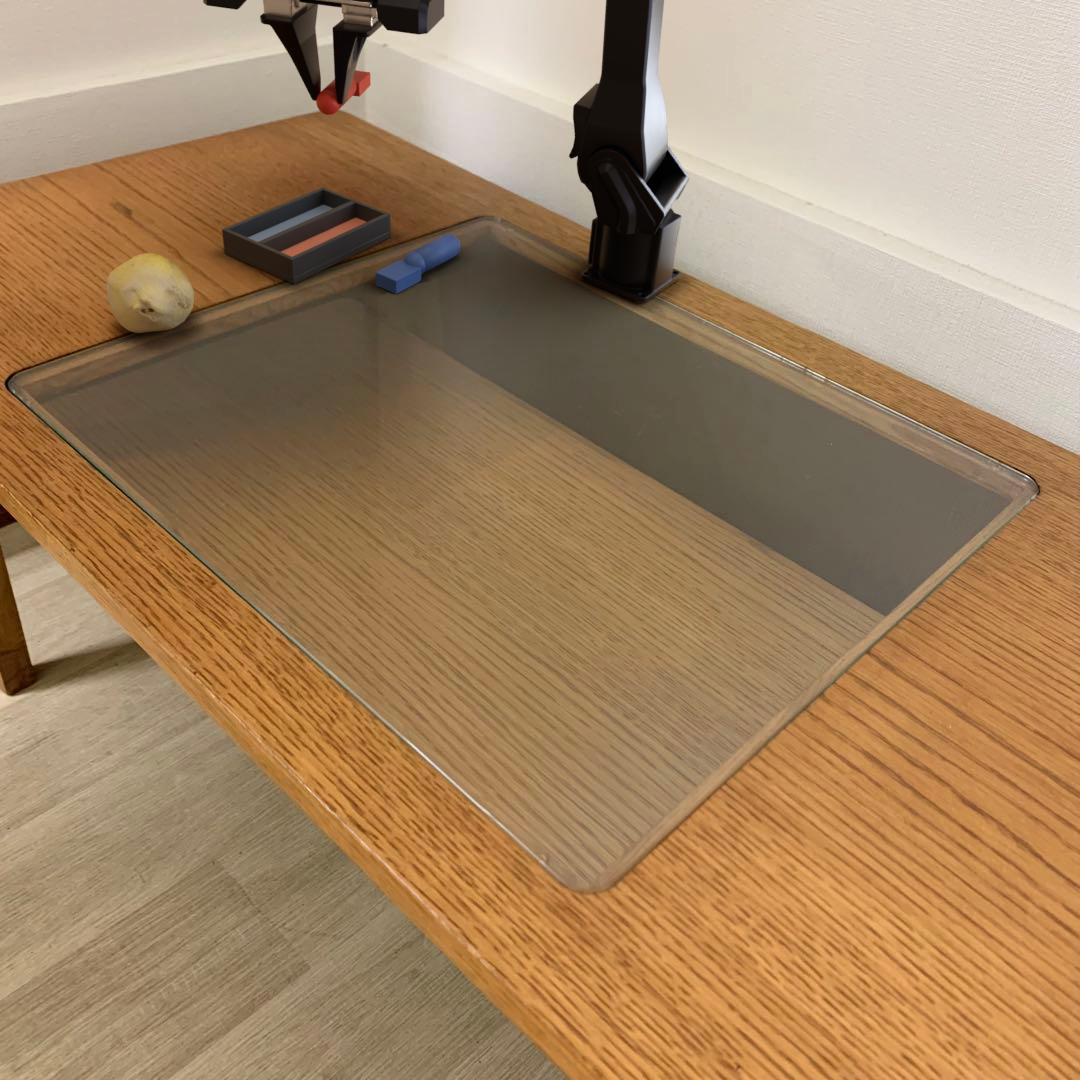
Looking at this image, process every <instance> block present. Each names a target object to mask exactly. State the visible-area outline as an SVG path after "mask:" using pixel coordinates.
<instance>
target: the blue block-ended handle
mask: <svg viewBox="0 0 1080 1080" xmlns="http://www.w3.org/2000/svg"><path fill="white" fill-rule="evenodd" d="M460 250H461V242H460V240H459V238H458V237H457V236H456V235H454V234H452V233H445V234H443V235H441V236H439V237H437V238H435V239H433V240H431V241H429V242H427V243H425V244H423V245H421V246H419V247H417V248H415V249H413V250H411V251H409V252H408V253H407V254H405V257H404V258H403V259H399V260H396V261H394V262H393V263H391V264H389V265H387V266H385V267H382V268H381V269H379V270H377V271H375V286H376V287H379V288H381V289H383V290H385V291H388V292H390V293H392V294H395V295H397V294H399V293H401V292H402V291H405V290H407V289H408V288H410V287H412V286H414V285H415V284H418V283H419V282H421V281H422V274H424V273H426V272H428V271H430V270H432V269H434V268H436V267H438V266H440V265H441V264H444V263H446V262H447V261H449V260H452V258H454V257H456V256H457V255H458V254H459V252H460Z"/></svg>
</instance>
